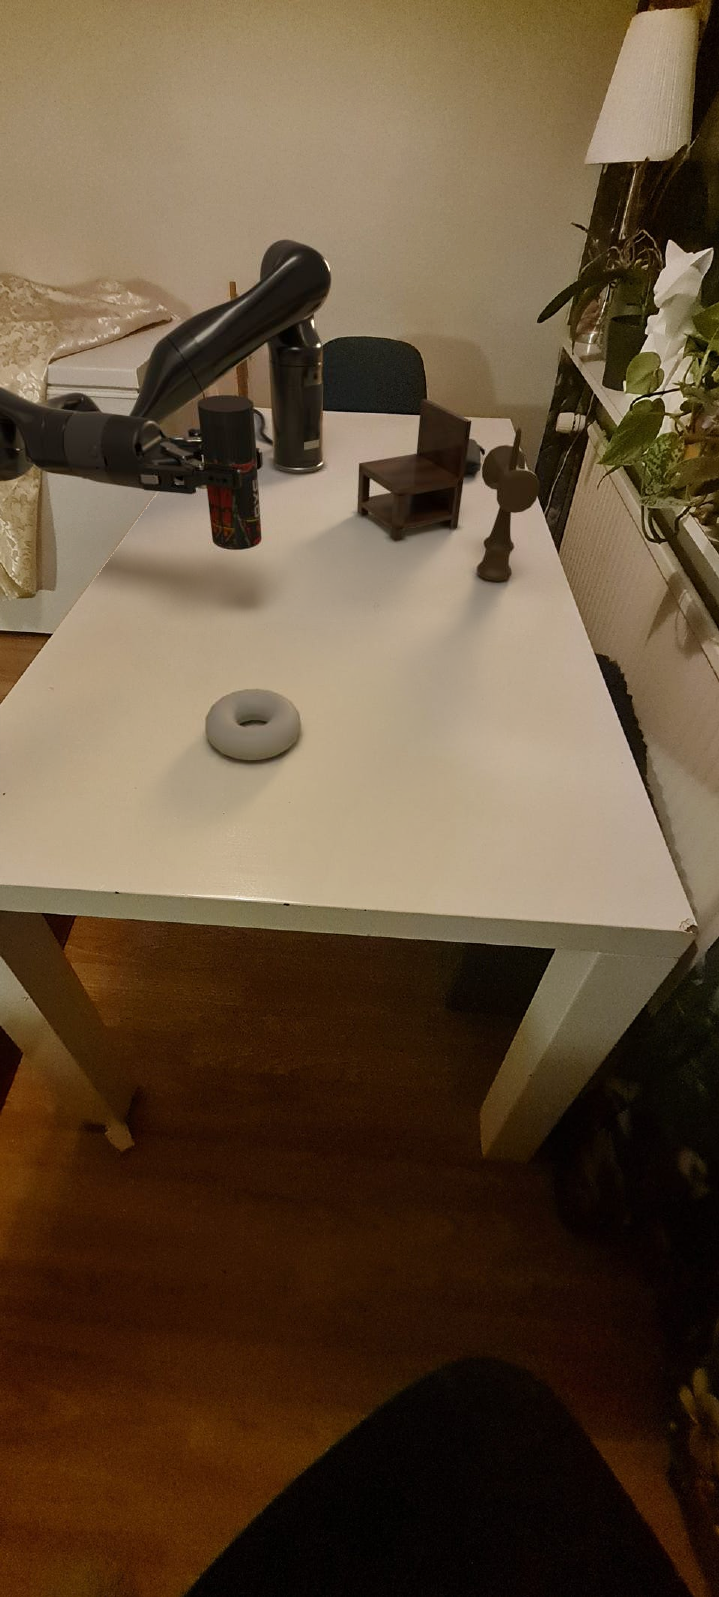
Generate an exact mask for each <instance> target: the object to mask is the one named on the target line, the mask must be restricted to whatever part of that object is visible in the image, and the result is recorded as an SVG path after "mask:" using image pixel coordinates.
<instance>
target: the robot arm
mask: <svg viewBox="0 0 719 1597" xmlns="http://www.w3.org/2000/svg"><path fill="white" fill-rule="evenodd" d="M259 271H260V272H259V281H258V282H256V284H255V285H253V286H251V287H250V289H248V290H247V291H246V292H244V293H243V294H241V295H239V296H237V297H235V298H232V299H231V300H228V301H226V302H223V303H221V304H218V305H215V306H213V307H210V308H208V309H205V310H202V311H200V312H199V313H196V314H195V315H193V316H191V317H189V318H188V319H186V320H184V321H183V322H182V323H180V324H179V325H178V326H176V327H175V328H174V329H172V330H171V331H169V332H168V333H167V334H166V335H165V336H163V337H162V338H161V339H159V341H157V342H156V344H155V345H154V347H153V349H152V351H151V353H150V356H149V358H148V361H147V365H146V368H145V372H144V376H143V379H142V383H141V386H140V389H139V393H138V395H137V398H136V401H135V403H134V405H133V407H132V409H131V411H130V413H129V415H125V414H118V413H111V412H110V413H109V412H103V411H102V410H101V409H100V408H99V406H98V405H97V403H96V402H95V401H94V400H93V399H92V398H91V397H90V396H89V395H87V394H85V393H83V392H77V391H75V392H69V393H64V394H61V395H59V396H55V397H51V398H48V399H45V400H43V401H41V402H37V403H36V402H33V401H31V400H29V399H27V398H24V397H23V396H21V395H19V394H17V393H14V392H13V391H11V390H9V389H7V388H5V387H3V386H0V482H8V481H9V482H10V481H14V480H15V479H19V478H20V477H23V476H24V475H26V474H27V473H29V471H30V470H31V469H32V468H33V467H34V466H35V467H37V468H38V469H39V470H41V471H43V472H46V473H49V474H55V475H63V476H70V477H77V478H82V479H84V480H89V481H92V482H95V483H100V484H106V485H113V486H119V487H126V488H133V489H140V490H144V491H150V492H162V493H170V494H171V493H172V494H173V493H174V494H184V495H193V494H194V495H195V494H196V493H197V489H200V490H205V489H206V490H207V488H208V485H209V486H210V487H217V488H224V489H231V490H239V489H240V488H241V487H242V474H241V470H240V469H239V468H237V467H230V466H222V465H216V464H208V465H207V468H206V464H205V463H204V461H203V449H202V440H201V431H200V429H198V428H189V429H188V430H187V434H188V435H187V436H186V435H184V434H173V435H170V436H169V437H167V436H166V435H165V434H164V431H163V430H162V429H161V427H160V425H161V424H162V423H163V422H165V421H166V420H167V419H169V418H170V417H172V416H173V415H174V414H176V413H177V412H178V411H180V410H181V409H183V408H184V407H186V405H188V404H190V403H191V402H193V401H194V400H196V399H197V398H199V397H200V396H202V395H203V394H204V393H205V392H207V391H208V390H209V389H211V388H212V387H213V386H214V385H216V384H218V382H220V381H221V380H222V379H223V378H224V377H226V375H228V374H229V373H230V372H232V371H233V370H234V369H236V368H237V367H238V366H239V365H240V364H242V363H243V362H244V361H246V360H247V359H248V358H250V356H252V355H253V354H254V353H255V352H256V351H258V350H259V349H260V348H262V346H264V345H266V346H267V352H268V367H269V371H268V372H269V389H270V408H271V409H270V412H271V413H270V414H271V433H272V435H271V436H272V439H271V438H270V437H269V436H267V435H266V434H265V433H264V430H265V428H266V420H265V416H264V415H263V413H261V411H259V410H258V409H256V408H254V414H256V415H257V416H259V418H260V421H261V426H260V428H259V434H260V436H261V437H262V439H264V440H265V441H266V442H267V443H269V444H271V445H272V453H273V454H272V455H273V456H272V464H273V467H274V468H275V469H276V470H278V471H281V472H286V473H291V474H307V473H313V472H316V471H319V470H321V469H322V468H323V467H324V348H323V342H322V340H321V337H320V335H319V333H318V330H317V327H316V324H315V323H316V322H315V314H316V313H317V312H318V311H319V310H320V309H321V308H322V306H323V305H324V304H325V302H326V301H327V298H328V296H329V294H330V290H331V287H332V271H331V268H330V265H329V262H328V261H327V259H326V258H325V257H324V256H323V255H322V253H320V252H319V251H318V250H317V249H315V248H314V247H312V246H310V245H307V244H304V243H302V242H298V241H296V240H293V239H279V240H276V241H275V242H272V244H271V245H270V246H269V247H268V248H267V249H266V251H265V253H264V254H263V257H262V260H261V263H260V270H259ZM233 396H237V395H236V394H233ZM256 455H257V471H259V470H261V468H263V466H264V458H263V451H262V450H261V448H259V447H256Z"/></svg>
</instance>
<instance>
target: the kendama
mask: <svg viewBox="0 0 719 1597" xmlns="http://www.w3.org/2000/svg"><path fill="white" fill-rule="evenodd" d="M521 441H522V428H521V427H518V428H517V429H516V432H515V435H514V439H513V444H512V445H511V444H502V445H497V446H495V447H494V448H492V449H490V450H489V452H488V453H487V455H486V456H485V457H484V459H483V462H482V465H481V477H482V480H483V482H484V485H485V486H487V487H488V488H489V489H491V490H494V491H495V490H496V503H497V504H498V506H499V508H498V510H497V514H496V517H495V520H494V523H493V526H492V530H491V531H490V534H489V536H487V537H485V539H484V540H483V547H484V555H483V558H482V560H481V561H480V562H479V563H478V565H477V567H476V572H477V573H478V575H479V576H480V577H482V578H483V579H485V580H489V581H496V582H498V581H504V580H507V579H509V578H510V577H511V576H512V574H513V573H512V568H511V566H510V563H509V562H510V554H511V553H512V551H514V549H515V543H514V542H513V540H512V537H511V536H512V535H511V525H512V524H511V521H512V520H511V519H512V513H513V514H517V513H523V512H525V511H527V510H529V509H530V508H531V507H532V506H533V505H534V504H535V502H537V499H538V495H539V492H540V481H539V478H538V476H537V474H536V473H534V472H533V471H532V470H529V469H526V458H525V455H524V452H523V451H522V450H521V449H520V448H521Z"/></svg>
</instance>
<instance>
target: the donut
mask: <svg viewBox="0 0 719 1597" xmlns="http://www.w3.org/2000/svg"><path fill="white" fill-rule="evenodd" d="M248 721H263V722H266V723H265V724H262V725H259V726H252V727H250V726H242V725H240V724H242V723H245V722H248ZM204 722H205V723H204V724H205V725H204V731H205V735H206V736H207V739H208V740H209V742H210V745H212V746H213V747H214V748H215V749H216V750H218V752H220V753H221V754H223V755H225V756H228V757H230V758H234V759H237V760H243V761H259V760H265V759H269V758H273V757H275V756H278V755H279V754H281V753H283V752H285V751H287V750H289V748H290V747H291V746H292V745H293V744H294V743H295V742H296V741H297V739H298V737H299V734H300V732H301V728H302V723H301V716H300V712H299V711H298V709H297V707H296V706H295V705H294V703H293V702H292V701H291V700H290V699H288V698H287V697H286V696H284V695H283V694H281V693H278V692H275V691H273V690H269V689H261V688H247V689H242V690H237V691H236V690H235V691H233V692H230V693H228V694H226V695H224V696H222V697H221V698H219V699H218V700H217V701H215V703H214V704H212V705H211V707H210V709H209V711H208V713H207V714H206V715H205V721H204Z"/></svg>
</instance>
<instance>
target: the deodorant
mask: <svg viewBox="0 0 719 1597" xmlns="http://www.w3.org/2000/svg"><path fill="white" fill-rule="evenodd" d="M196 405H197V412H198V422H199V430H200V431H201V440H202V449H203V455H202V459H203V463H205V464H206V468H207V465H208V464H216V465H222V466H230V467H237V468H239V469H240V470H241V474H242V487H241V488H240V489H239V490H231V489H224V488H217V487H210V486H209V485H208V488H206V496H207V500H208V501H207V502H208V511H209V520H210V529H211V537H212V538H211V539H212V543H213V544H214V545H215V546H217V547H218V548H221V549H224V550H231V551H242V550H247V549H251V548H254V547H256V546H258V545H259V544H261V542H262V540H263V539H262V524H261V508H260V506H261V505H260V490H259V477H258V476H259V472H258V471H259V470H257V455H256V448H257V441H256V439H257V438H256V422H255V413H254V409H255V407H254V405H255V404H254V401H253V400H252V399H249V398H247V397H244V396H240V395H236V396H234V394H233V395H231V394H218V395H210V396H207V397H203V398H201V399H199V400H198V401H197V404H196Z"/></svg>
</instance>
